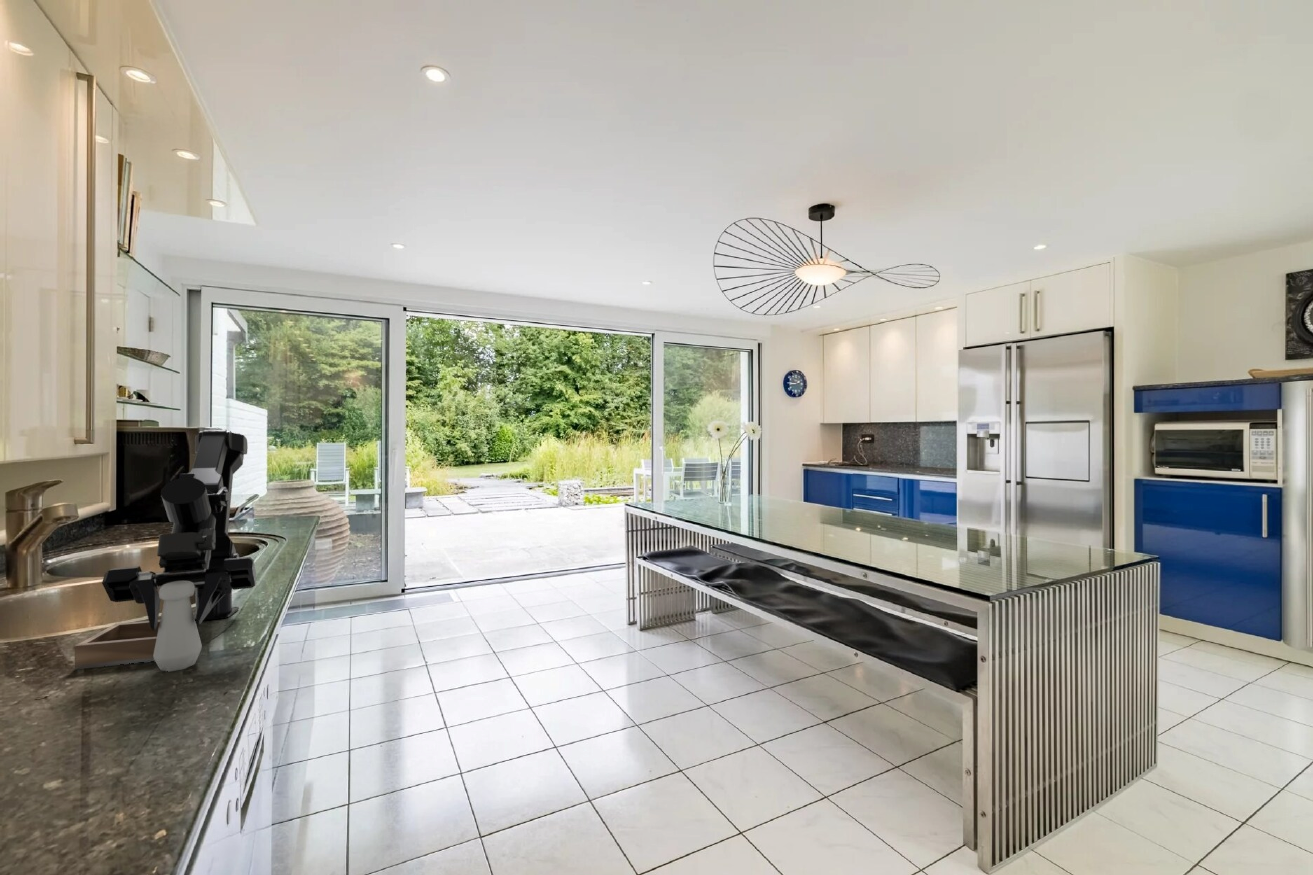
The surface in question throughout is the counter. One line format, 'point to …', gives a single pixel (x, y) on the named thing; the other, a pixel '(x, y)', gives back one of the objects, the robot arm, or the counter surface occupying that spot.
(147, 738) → the counter surface
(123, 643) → the shaker dock
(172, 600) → the salt shaker
